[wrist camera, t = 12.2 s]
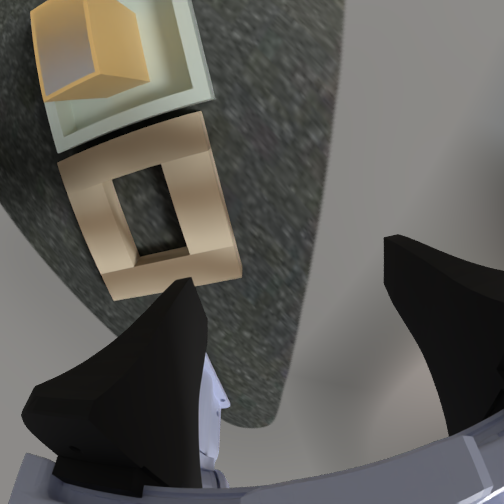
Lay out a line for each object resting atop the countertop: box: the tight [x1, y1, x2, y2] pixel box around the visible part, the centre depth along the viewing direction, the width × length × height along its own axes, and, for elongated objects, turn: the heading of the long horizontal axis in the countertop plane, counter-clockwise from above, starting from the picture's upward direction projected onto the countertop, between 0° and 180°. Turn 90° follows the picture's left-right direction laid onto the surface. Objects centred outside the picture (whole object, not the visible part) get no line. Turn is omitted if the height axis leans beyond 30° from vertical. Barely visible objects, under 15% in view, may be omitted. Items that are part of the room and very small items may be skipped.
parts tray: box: [31, 0, 215, 153], centre depth 14 cm, size 10×10×2 cm
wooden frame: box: [57, 111, 242, 301], centre depth 19 cm, size 11×10×2 cm
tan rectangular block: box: [30, 0, 150, 102], centre depth 11 cm, size 5×3×7 cm, turn 12°
